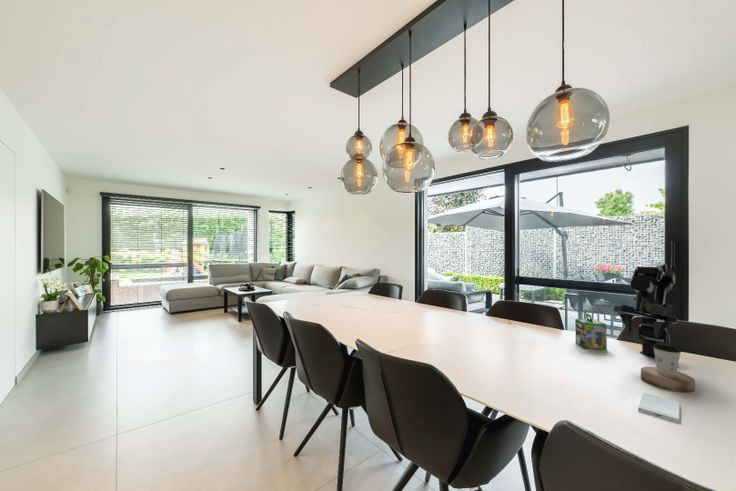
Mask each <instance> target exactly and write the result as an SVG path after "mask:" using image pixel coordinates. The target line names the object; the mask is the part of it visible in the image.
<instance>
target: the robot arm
mask: <svg viewBox="0 0 736 491" xmlns="http://www.w3.org/2000/svg"><path fill="white" fill-rule="evenodd" d="M675 284H676V275H675V272H674V270H672V269H670V267H668V265H667V263H664V262H663V263H662V262H652V263H649V265H641V264H640V265H637V266H636V267H635V268H634V270H633V274H632V276H631V281H630V284H629V285H630V287H631V288H632V289H633V290H635V291H636V296H635V297H634V298H633V301H635V307H633V306H630V305H625V304H616V305H614V306H613V312H614V313H616V315H618V316H619V318H620V319H621V321H622V322H623V325H624V327H625V330H626V332H627V333H628V334H631V332H632V325H633V324H632V323H633V318H634V316H635V315H637V316H640V317H641V316H642V318H641V323H640V324H639V325H638V339H639V340H642V343H641V347H642V348H641V350H642V351H640V350H639V353H640V354H642V355H644V356H647V357H649V358H653V359H655V354H654V348H653V345H655V344H656V343H657V342H662V343H669V344H671V342H670V340H671V339H670V334H669V332H668V330H667V327H668V326H673V325H674V324H675V325H676V324H677V325H678V318H677V317H676V315H673V314H672V312H673V305H671V304H667V303H666V297H667V296H666V295H667V293H669V292H670V291H672V290H673V286H674V285H675ZM635 291H634V292H635Z"/></svg>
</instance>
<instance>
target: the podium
mask: <svg viewBox="0 0 736 491" xmlns="http://www.w3.org/2000/svg"><path fill="white" fill-rule="evenodd" d="M640 380H642V381H643V382H644V383H647V385H651V386H654V387H657V388H659V389H662V390H666V391H671V392H677V393H692V392H694V391H695V390H696V388H695V385H696V384H695V382H696V380H695V378H693V377H692V376H690V375H688V374H686V373H684V372H681V371H677V374H676V377H668V376H664V375H661V374H659V373H657V367H656V366H642V367H641V368H640Z"/></svg>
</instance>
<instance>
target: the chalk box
mask: <svg viewBox="0 0 736 491" xmlns="http://www.w3.org/2000/svg"><path fill="white" fill-rule="evenodd" d="M584 314H585V318H575V324H574V325H575V343H576V344H577V345H579V346H580V347H582V348H583V349H587V350H588V349H592V350H607V348H608V343H607V342H608V341H607V338H608V337H607V324H606V323H605V322H604V321H603V322H602V321H600V320H597V319H593V318H592V315H591V314H589V313H587V312H585V313H584Z"/></svg>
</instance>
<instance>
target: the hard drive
mask: <svg viewBox="0 0 736 491" xmlns="http://www.w3.org/2000/svg"><path fill="white" fill-rule="evenodd" d="M637 411H638V412H640V413H644V414H646V415H651V416H654V417H658V418H660V419H665V420H668V421H671V422H674V423H677V424H680V422H681V420H680V419H681V403H680V402H678V401H677V400H676V401H675V400H673V399H672V400H671V399H667V398H663V397H660V396H657V395H653V394H649V393H643V392H642V394H641V397H640V401H639V404H638V408H637Z"/></svg>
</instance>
